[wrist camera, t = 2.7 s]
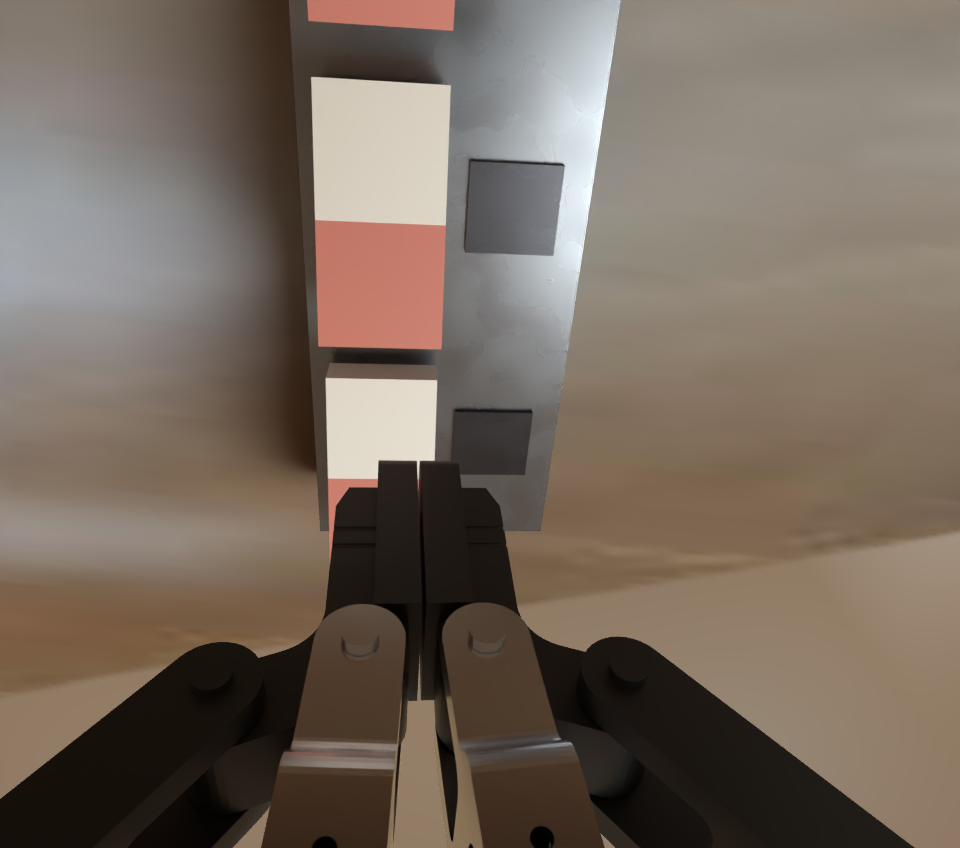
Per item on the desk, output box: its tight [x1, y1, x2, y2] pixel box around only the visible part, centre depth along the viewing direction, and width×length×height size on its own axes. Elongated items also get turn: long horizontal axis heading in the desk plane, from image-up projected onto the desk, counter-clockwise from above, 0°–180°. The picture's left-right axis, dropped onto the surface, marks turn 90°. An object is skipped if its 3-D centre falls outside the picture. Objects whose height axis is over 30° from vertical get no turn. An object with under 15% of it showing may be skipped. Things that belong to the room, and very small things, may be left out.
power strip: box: [289, 0, 621, 531], centre depth 28 cm, size 10×30×4 cm, turn 176°
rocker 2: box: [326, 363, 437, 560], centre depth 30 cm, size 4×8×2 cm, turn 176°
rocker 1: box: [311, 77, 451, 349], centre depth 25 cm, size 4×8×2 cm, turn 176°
